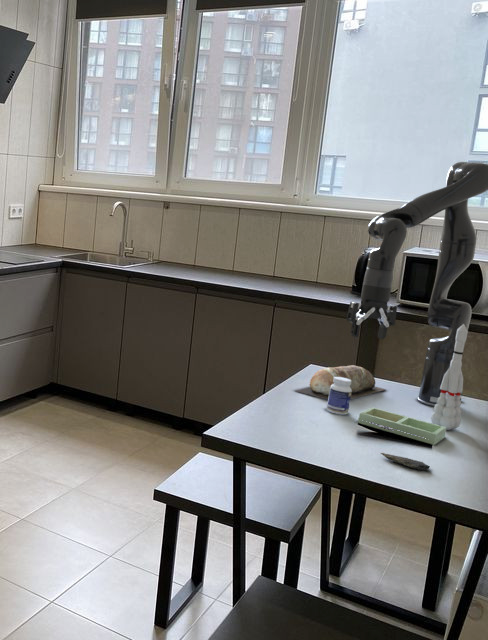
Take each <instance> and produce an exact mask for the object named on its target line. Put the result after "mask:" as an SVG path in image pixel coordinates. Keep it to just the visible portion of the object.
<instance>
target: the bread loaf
mask: <svg viewBox="0 0 488 640" xmlns="http://www.w3.org/2000/svg"><path fill="white" fill-rule="evenodd" d="M334 377H343V378H347V379H350V380H351V385H350V388H351V390H352V393H351V398H350V400H353V399H356V398H360V397H364V396H367V395H368V396H369V395H371V394H376V393H379V392H382V391H386V389H385V388H381V387H378V386H376V379H375V377H374V376H373V374H372V373H371V372H370V370H368V369H366V368H364V367H361V366H358V365H354V364H352V365H347V366H346V365H341V366H334V367H333V366H332V367H329V366H328V367H325V368H320V369H319V370H317V371H316V372H314V374H313V375H312V377H311V379H310V380H309V387H305V388H301V389H298V390H296V392H298V393H301V394H305V395H308V396H309V395H310V396H312V397H317V398H322V399H326V400H328V397H329V392H330V386H331V385H332V384H334V382H333V379H334Z"/></svg>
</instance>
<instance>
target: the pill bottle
mask: <svg viewBox="0 0 488 640" xmlns="http://www.w3.org/2000/svg"><path fill="white" fill-rule="evenodd" d="M333 382H334V384H332V385H331V386H330V392H329V397H328V399H327V403H326V410H327V412H330V413H332V414H336V415H341V416H342V415H343V416H345V415H348V414H349V409H350V403H351V399H350V398H351V393H352V390H351V388H350V385H351V380H350V379H347V378H343V377H334V379H333Z"/></svg>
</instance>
